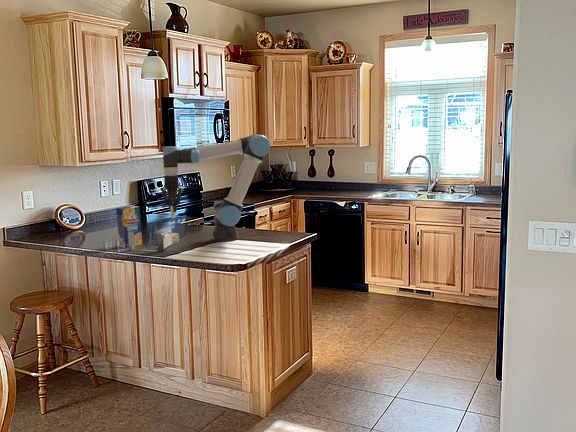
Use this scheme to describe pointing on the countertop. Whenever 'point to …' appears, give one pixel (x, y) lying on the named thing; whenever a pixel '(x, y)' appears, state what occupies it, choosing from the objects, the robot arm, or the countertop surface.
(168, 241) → the white upright plank
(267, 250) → the countertop surface
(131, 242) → the latch post
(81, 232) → the countertop surface
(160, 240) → the posts
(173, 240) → the oak block
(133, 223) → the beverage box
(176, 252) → the countertop surface
